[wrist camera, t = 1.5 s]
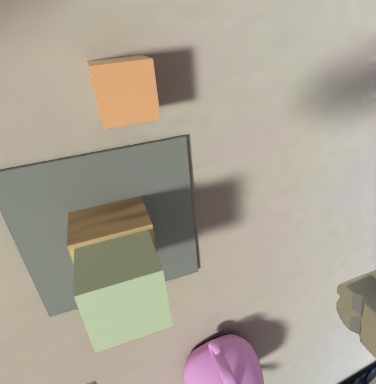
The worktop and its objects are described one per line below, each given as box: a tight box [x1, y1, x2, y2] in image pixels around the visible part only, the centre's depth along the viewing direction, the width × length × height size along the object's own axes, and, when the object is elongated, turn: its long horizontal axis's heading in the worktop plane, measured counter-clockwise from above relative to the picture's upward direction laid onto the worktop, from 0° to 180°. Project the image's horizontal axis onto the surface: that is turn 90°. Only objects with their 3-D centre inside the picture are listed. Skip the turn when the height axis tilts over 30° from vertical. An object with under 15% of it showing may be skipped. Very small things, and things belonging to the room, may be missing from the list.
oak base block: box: [67, 196, 158, 264], centre depth 33 cm, size 8×8×6 cm
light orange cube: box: [87, 55, 161, 130], centre depth 27 cm, size 5×5×5 cm
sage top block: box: [74, 230, 172, 353], centre depth 28 cm, size 7×7×6 cm
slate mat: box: [0, 135, 198, 317], centre depth 35 cm, size 20×20×1 cm
